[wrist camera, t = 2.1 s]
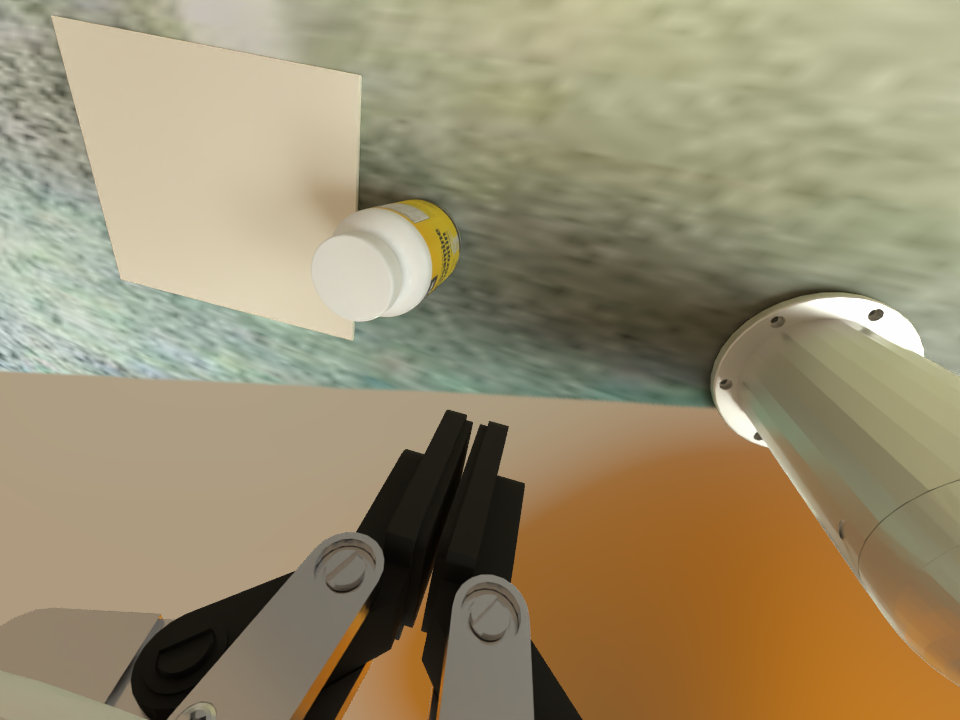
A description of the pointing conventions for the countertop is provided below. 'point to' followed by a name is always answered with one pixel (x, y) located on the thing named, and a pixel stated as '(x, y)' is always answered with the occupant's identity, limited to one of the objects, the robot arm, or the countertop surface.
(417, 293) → the pill bottle
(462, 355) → the countertop surface
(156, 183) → the mat
